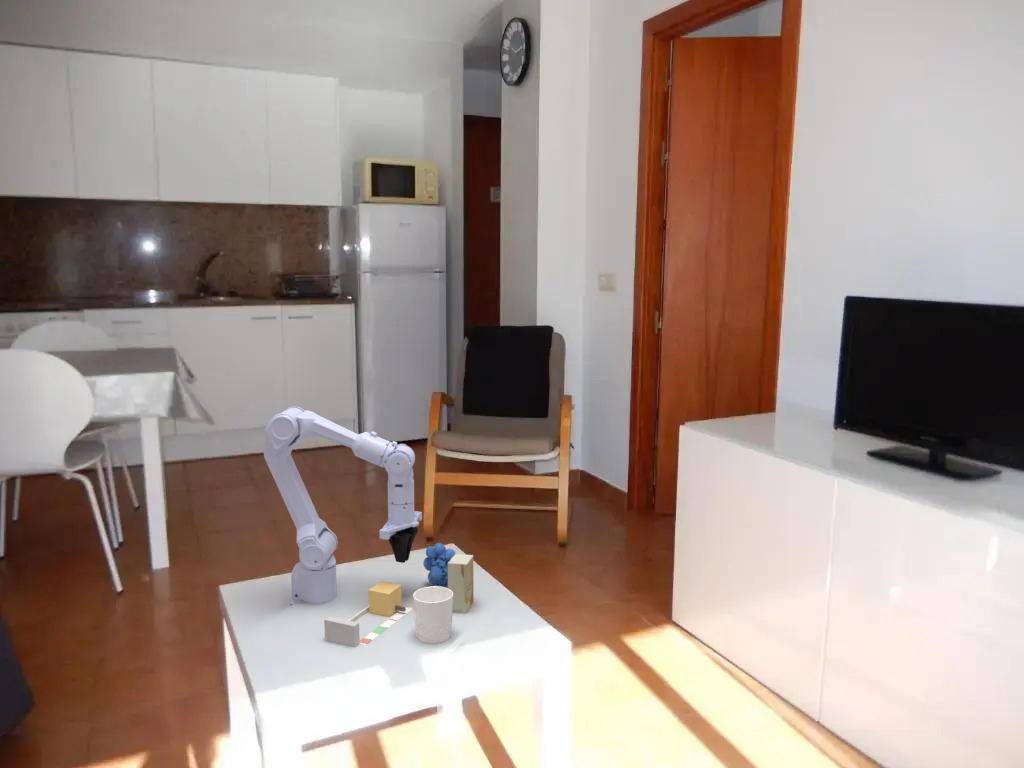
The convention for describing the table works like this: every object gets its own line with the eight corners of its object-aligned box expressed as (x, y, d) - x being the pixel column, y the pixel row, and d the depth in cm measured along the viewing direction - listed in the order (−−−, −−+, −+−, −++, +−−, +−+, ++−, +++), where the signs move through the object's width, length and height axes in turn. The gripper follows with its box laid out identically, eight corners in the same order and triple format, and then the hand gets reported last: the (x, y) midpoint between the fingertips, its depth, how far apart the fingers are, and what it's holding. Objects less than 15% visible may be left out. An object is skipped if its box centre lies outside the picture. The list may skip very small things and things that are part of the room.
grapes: (412, 595, 174) (411, 544, 173) (431, 585, 180) (430, 536, 178) (452, 607, 168) (452, 555, 166) (471, 596, 173) (470, 546, 172)
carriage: (369, 612, 162) (368, 590, 161) (382, 603, 166) (381, 581, 166) (398, 618, 159) (398, 595, 158) (410, 609, 164) (410, 586, 163)
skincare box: (466, 620, 162) (466, 565, 160) (447, 618, 163) (446, 563, 161) (474, 607, 168) (474, 554, 166) (455, 605, 169) (455, 552, 167)
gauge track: (314, 646, 150) (314, 619, 149) (376, 602, 170) (376, 578, 169) (362, 657, 146) (361, 629, 145) (419, 611, 166) (419, 586, 165)
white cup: (414, 633, 156) (413, 586, 154) (453, 631, 156) (452, 585, 155) (412, 652, 148) (412, 603, 147) (453, 650, 149) (453, 601, 147)
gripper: (399, 512, 158) (400, 575, 160) (433, 494, 172) (434, 552, 173) (370, 508, 161) (372, 570, 163) (406, 491, 174) (407, 548, 176)
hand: (402, 560), depth 168 cm, fingers closed
